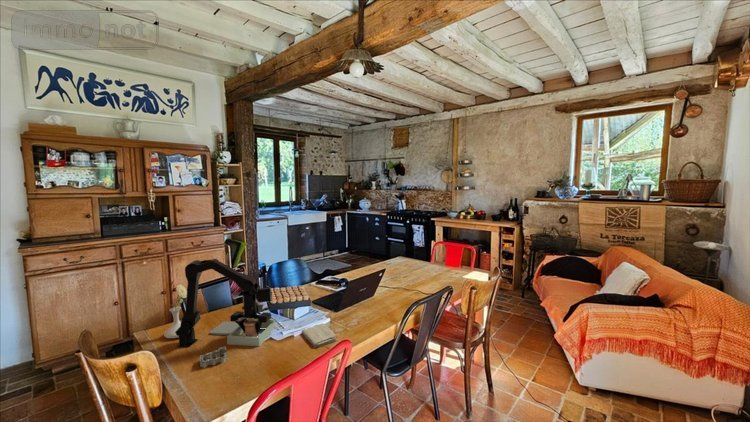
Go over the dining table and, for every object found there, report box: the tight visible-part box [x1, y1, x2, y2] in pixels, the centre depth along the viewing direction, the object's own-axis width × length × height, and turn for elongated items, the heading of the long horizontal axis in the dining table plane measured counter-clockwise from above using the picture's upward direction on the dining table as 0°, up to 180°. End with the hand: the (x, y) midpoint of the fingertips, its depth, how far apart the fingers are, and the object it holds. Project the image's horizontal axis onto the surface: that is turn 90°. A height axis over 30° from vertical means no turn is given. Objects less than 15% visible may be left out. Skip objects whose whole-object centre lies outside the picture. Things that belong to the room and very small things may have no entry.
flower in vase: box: [163, 284, 187, 339], centre depth 158 cm, size 13×11×25 cm
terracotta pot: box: [243, 319, 260, 337], centre depth 155 cm, size 7×7×8 cm
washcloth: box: [301, 323, 337, 349], centre depth 153 cm, size 12×18×3 cm, turn 35°
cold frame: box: [226, 318, 276, 347], centre depth 155 cm, size 16×16×6 cm
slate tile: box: [209, 321, 239, 336], centre depth 163 cm, size 12×12×1 cm
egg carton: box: [198, 346, 228, 369], centre depth 135 cm, size 11×8×4 cm
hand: (252, 333), depth 155 cm, fingers closed on terracotta pot, 6 cm apart
